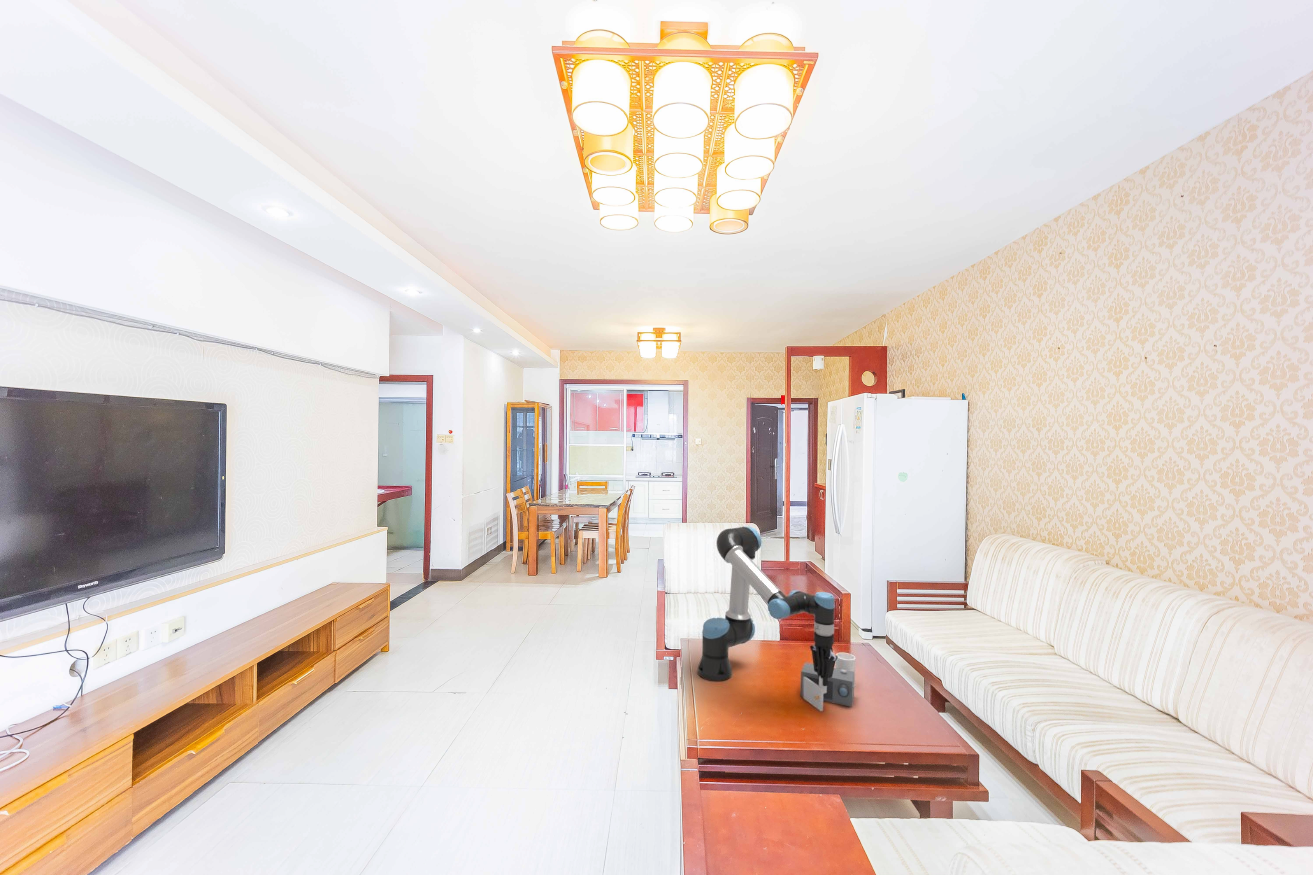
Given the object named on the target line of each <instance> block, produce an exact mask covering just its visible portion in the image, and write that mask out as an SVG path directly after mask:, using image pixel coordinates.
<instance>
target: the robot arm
mask: <svg viewBox="0 0 1313 875" xmlns="http://www.w3.org/2000/svg"><path fill="white" fill-rule="evenodd" d="M761 546H762V538H761V535H760V533H759V532H758V530H757V529H756V528H754V527H752V526H740V527H739V526H738V527H733V528H726V529H724V530H722V531H721V532H720V533H719V534H718V536H717V538H716V549H717V552H718V554H719V556H720V557H721V558H722V559H723V561H724V562H726V563H727V564H730V565H731V576H730V577H731V578H730V591H729V604H728V606H729V607H728V609H727V611H726V612H725V617H712V618H709V619H707V620H705V621H704V622H703V625H702V627H703V628H702V641H701V642H702V645H701V646H702V649H701V650H702V652H701V657H700V660H699V663H698V666H697V675H698V676H700V678H703V679H704V680H708V681H713V682H721V681H722V682H723V681H728V680H730V679H731V678H732V676H733V669H732V665H731V662H730V658H729V649H730V648H732V647H735V646H738V645H742V644H745V643H747V642H750V641H751V640H752V639H753V638H754V635H755V633H756V625H755V623H754V620H753V619H752V617H751V616H752V615H751V613H749V600H750V599H749V598H750V587H751V588H752V589H753V590H754V591H755V592H756V594H758V595H759V596H760V597H761V599H762V600H764V601H765V603H766V604H767V611H768V613H769V615H770V616H771V617H772V618H773V619H776V620H781V619H786V618H788V617H792V616H795V615H798V614H802V613H805V614H808V615H811V616H812V615H813V616H814V617H813V620H814V626H813V631H814V633H813V641H814V644H812V645H810V646H809V648H810V651H811V656H812V664H813V665H814V671H815V672H817V674H818V683H819V686H820V687H821V688H823V694H824V693H827V685H828V678H830V677H832V675H833V671H834V668H835V667H836V660H837V658H838V657H837V655H836V654H835V653H834V650H833V645H834V644H835V635H834V634H835V608H836V604H835V595H833V593H830V592H825V591H817V592H816V593H815V594H810V593H807V592H803V591H801V590H791V591H790V593H788V595H787V596H786V595H785V593H784V592H783V591H782V590H781V589H780V588H779V587H778V586H777V585H776V584H775V583H774V582H773V581H772V580H771V579H770V578H769V577H768V575H767V574H765V573H764V572H763V570H762V569H760V567H759V566H758V565H757V564H756V563H755V562H754V560H755V559H756V553H757V552H758V551H759V550H760V549H761Z"/></svg>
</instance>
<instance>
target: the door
mask: <svg viewBox="0 0 1313 875" xmlns="http://www.w3.org/2000/svg"><path fill="white" fill-rule="evenodd" d="M801 697H802V699H804V700H805V701H806V702H808V703H809V704H811V705H812V706H813V707H815V708H816V709H817V710H818V711H819V712H823V711H824V701H823V688H821V687H820V686H818V685H817V684H815V683H814V682H812V681H811V680H810V679H808V678H807V677H805V676H803V687H802V696H801Z"/></svg>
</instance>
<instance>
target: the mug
mask: <svg viewBox="0 0 1313 875" xmlns="http://www.w3.org/2000/svg"><path fill="white" fill-rule="evenodd" d="M836 655H837V657H838V658H837V660H836V662H835V668H837V669H845V670H847V671H852V672H855V673H856V656H855V655H853V654H851V653H847V652H837V653H836V654H835V656H836ZM855 687H856V676H855V677H854V688H855Z"/></svg>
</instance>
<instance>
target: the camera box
mask: <svg viewBox="0 0 1313 875" xmlns="http://www.w3.org/2000/svg"><path fill="white" fill-rule="evenodd" d="M803 676H805V677H807V678H808V679H810V680H811V681H812V682H814V683H815V684H817V685H818V686H819V683H818V674H817V672H815V671H814V665H813V663H809V662H804V663H803V666H802V667H801V670H800V695H799V696H801V697H802V687H803ZM854 677H855V678H856V671H855V672H852V671H847V670H845V669H837V668H836V667H834V671H833V675H832V677H830V678H828V685H827V693H824V694H823V702H828V703H832V704H837V705H842V706H846V707H851V708H852V707H853V704H854V698H855V687H854Z"/></svg>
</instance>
